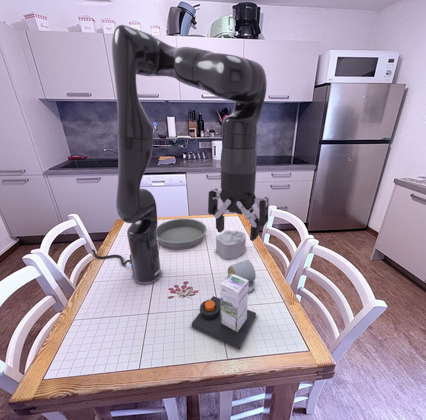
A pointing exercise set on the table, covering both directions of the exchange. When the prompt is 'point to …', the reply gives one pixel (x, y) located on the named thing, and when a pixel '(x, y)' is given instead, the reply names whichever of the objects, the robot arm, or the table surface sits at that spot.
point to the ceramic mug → (243, 271)
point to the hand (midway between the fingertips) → (236, 235)
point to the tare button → (209, 306)
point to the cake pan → (180, 233)
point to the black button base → (221, 325)
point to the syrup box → (234, 301)
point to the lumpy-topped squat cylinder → (230, 244)
